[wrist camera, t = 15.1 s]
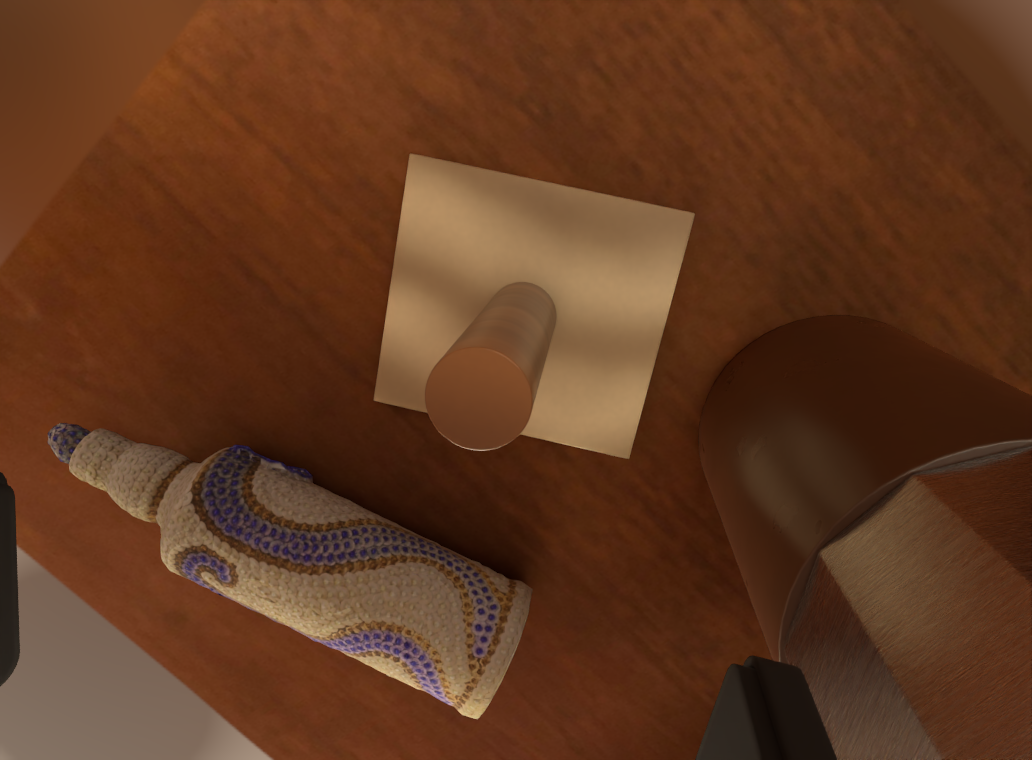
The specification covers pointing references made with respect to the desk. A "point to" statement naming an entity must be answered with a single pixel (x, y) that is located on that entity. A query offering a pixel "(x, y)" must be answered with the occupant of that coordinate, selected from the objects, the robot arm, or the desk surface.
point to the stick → (493, 370)
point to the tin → (883, 533)
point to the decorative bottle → (315, 562)
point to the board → (548, 264)
